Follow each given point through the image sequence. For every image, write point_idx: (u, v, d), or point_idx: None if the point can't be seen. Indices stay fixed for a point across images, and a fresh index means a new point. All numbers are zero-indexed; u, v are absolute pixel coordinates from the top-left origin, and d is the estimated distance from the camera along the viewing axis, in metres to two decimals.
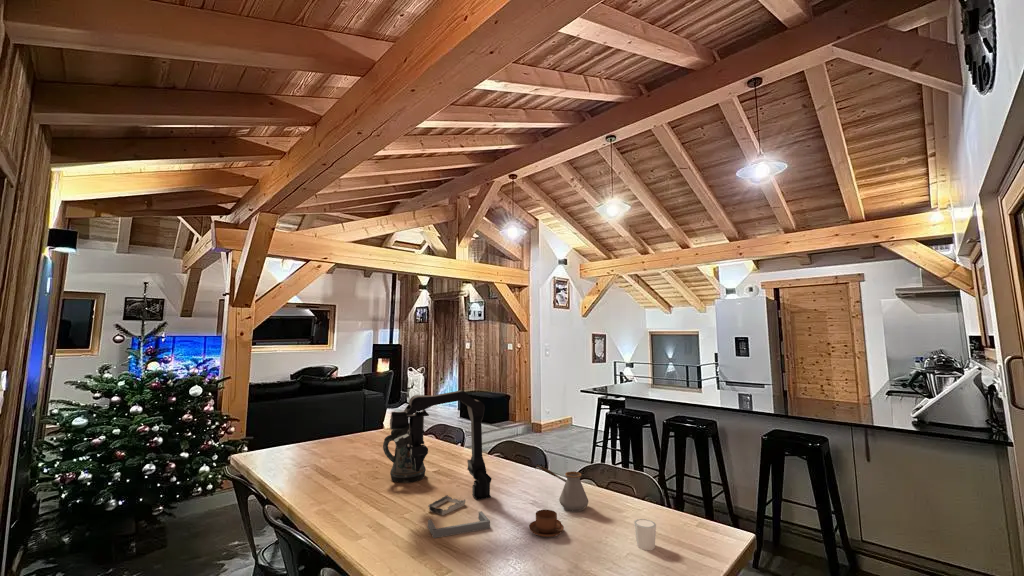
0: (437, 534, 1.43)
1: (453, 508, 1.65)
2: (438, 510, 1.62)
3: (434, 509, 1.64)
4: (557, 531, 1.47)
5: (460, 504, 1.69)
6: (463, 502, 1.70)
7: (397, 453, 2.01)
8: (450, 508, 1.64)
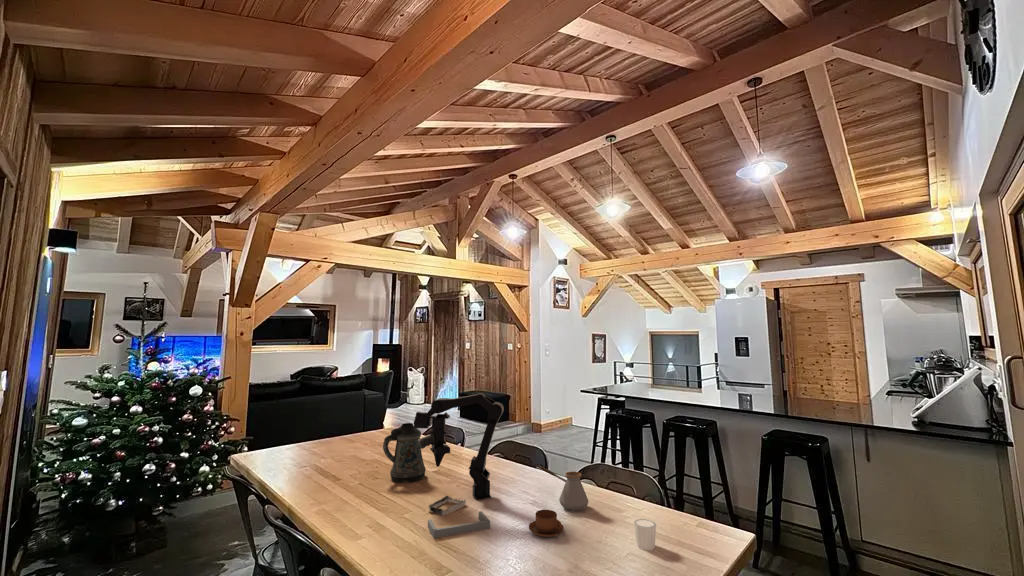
0: (437, 534, 1.43)
1: (453, 508, 1.65)
2: (439, 510, 1.62)
3: (434, 509, 1.63)
4: (557, 531, 1.47)
5: (461, 504, 1.69)
6: (463, 502, 1.70)
7: (397, 453, 2.01)
8: (451, 508, 1.64)
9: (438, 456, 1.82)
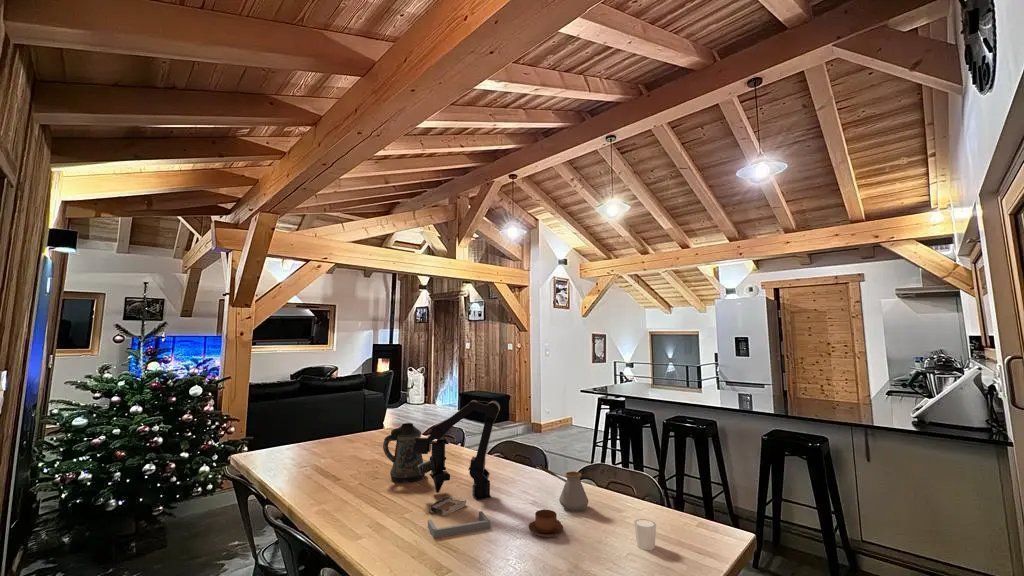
0: (437, 534, 1.43)
1: (454, 508, 1.65)
2: (439, 511, 1.62)
3: (435, 510, 1.63)
4: (557, 531, 1.47)
5: (461, 504, 1.68)
6: (464, 502, 1.70)
7: (397, 453, 2.01)
8: (451, 508, 1.64)
9: (438, 482, 1.81)
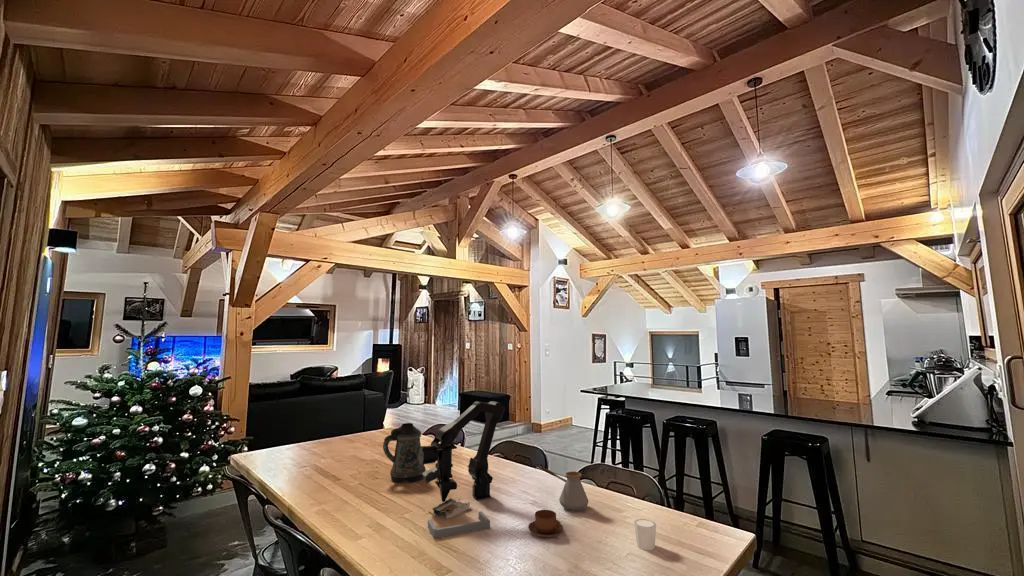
0: (437, 534, 1.43)
1: (458, 511, 1.62)
2: (443, 513, 1.59)
3: (438, 512, 1.61)
4: (556, 531, 1.47)
5: (465, 507, 1.66)
6: (468, 505, 1.67)
7: (397, 453, 2.01)
8: (455, 511, 1.61)
9: (444, 491, 1.70)
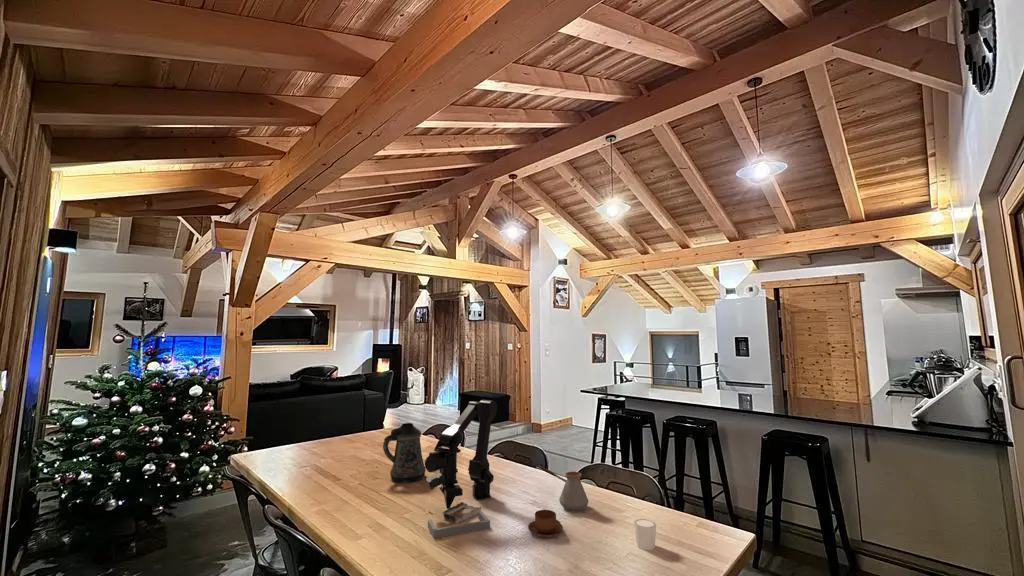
0: (437, 534, 1.43)
1: (468, 516, 1.59)
2: (453, 518, 1.56)
3: (448, 516, 1.57)
4: (556, 531, 1.47)
5: (476, 511, 1.62)
6: (479, 509, 1.63)
7: (397, 453, 2.01)
8: (465, 515, 1.57)
9: (449, 497, 1.63)
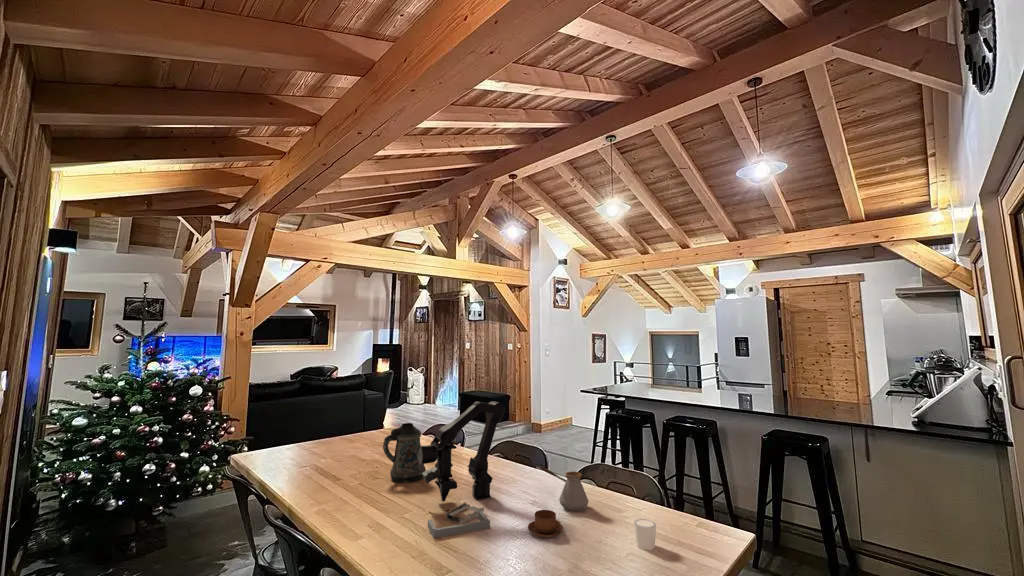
0: (437, 534, 1.43)
1: (471, 517, 1.58)
2: (456, 519, 1.55)
3: (452, 517, 1.56)
4: (556, 531, 1.47)
5: None
6: (482, 510, 1.62)
7: (397, 453, 2.01)
8: (468, 516, 1.56)
9: (444, 490, 1.71)
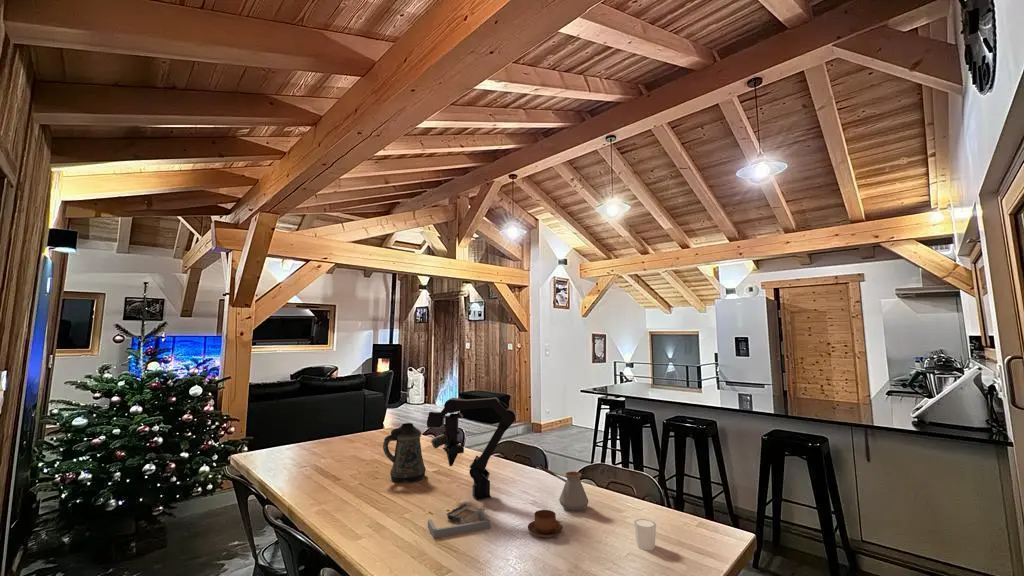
0: (437, 534, 1.43)
1: (472, 517, 1.57)
2: (457, 519, 1.54)
3: (452, 518, 1.56)
4: (556, 531, 1.47)
5: None
6: (483, 510, 1.62)
7: (397, 453, 2.01)
8: (469, 517, 1.56)
9: (451, 456, 1.82)
